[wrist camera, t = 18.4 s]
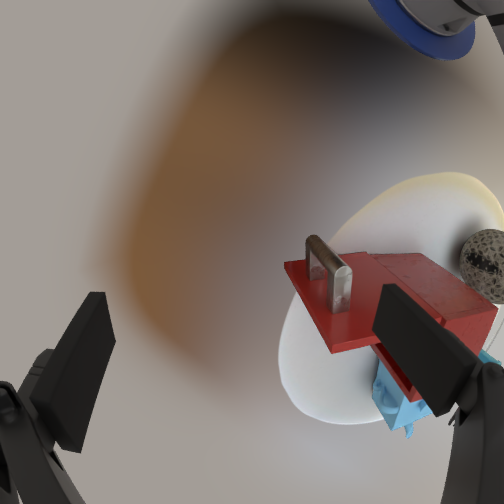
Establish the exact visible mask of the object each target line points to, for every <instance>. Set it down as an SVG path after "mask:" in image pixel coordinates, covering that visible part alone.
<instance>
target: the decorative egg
mask: <svg viewBox="0 0 504 504" xmlns="http://www.w3.org/2000/svg"><path fill="white" fill-rule="evenodd" d="M460 272H461V276H462V278H463V281H464V283H465V284H466V285H468V286H469V287H471V288H472V289H473V290H475V291H476V292H477V293H479V294H480V295H481V296H483V297H484V298H486V299H487V300H488V301H489V302H491V303H494V304H504V232H502V231H499V230H495V229H486V230H482V231H479V232H477V233H475V234H474V235H472V236H471V237H470V238H469V239H468V240H467V242H466V243H465V245H464V246H463V249H462V251H461V255H460Z"/></svg>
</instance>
